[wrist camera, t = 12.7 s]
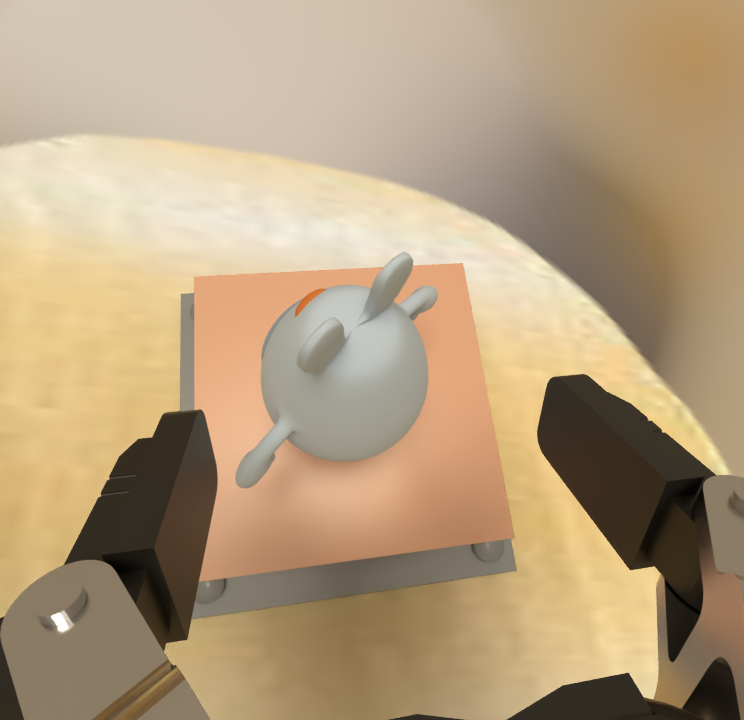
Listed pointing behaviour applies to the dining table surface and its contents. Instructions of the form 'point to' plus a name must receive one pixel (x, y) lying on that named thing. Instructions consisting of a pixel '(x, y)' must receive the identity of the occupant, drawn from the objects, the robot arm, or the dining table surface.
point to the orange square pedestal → (342, 479)
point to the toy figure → (343, 372)
